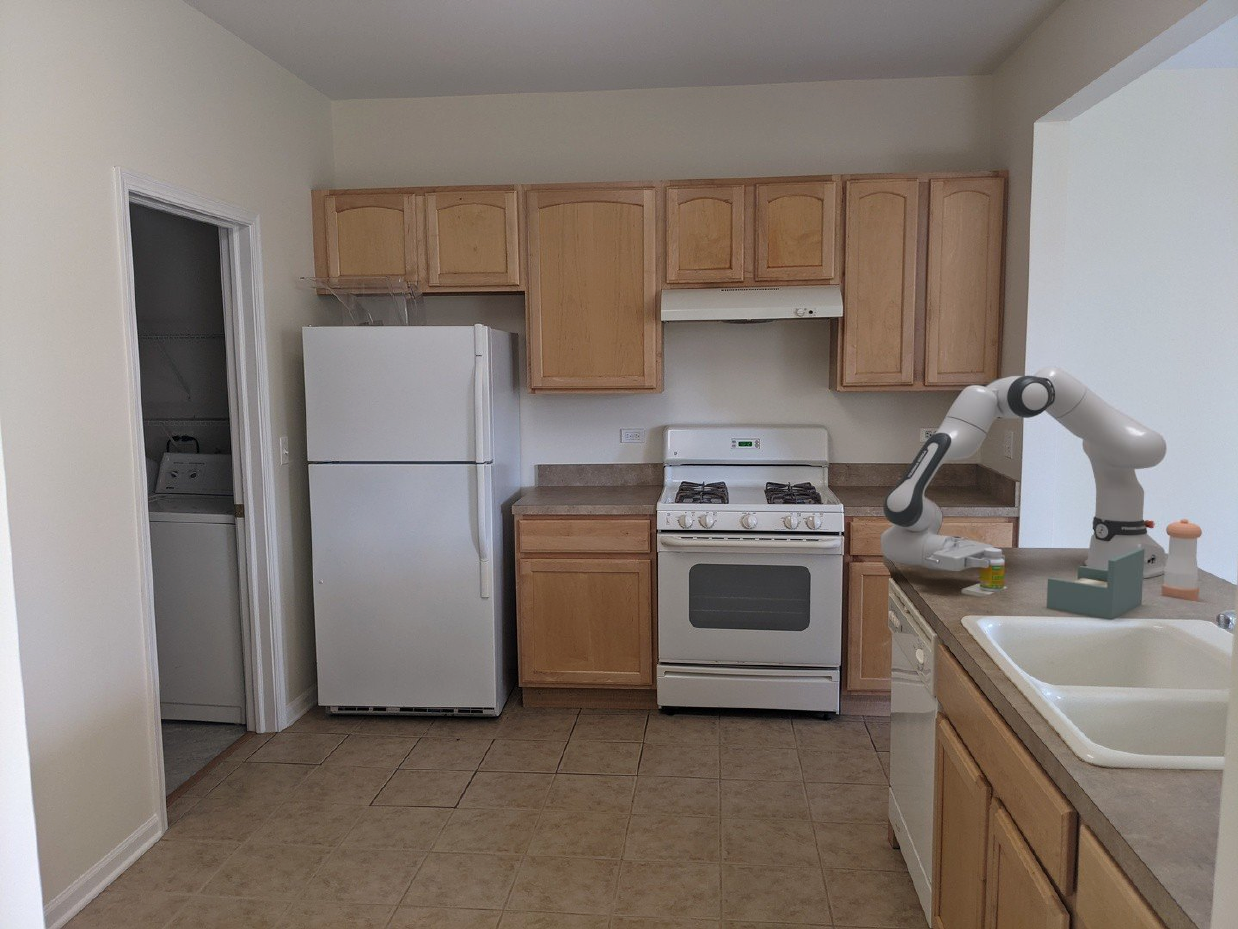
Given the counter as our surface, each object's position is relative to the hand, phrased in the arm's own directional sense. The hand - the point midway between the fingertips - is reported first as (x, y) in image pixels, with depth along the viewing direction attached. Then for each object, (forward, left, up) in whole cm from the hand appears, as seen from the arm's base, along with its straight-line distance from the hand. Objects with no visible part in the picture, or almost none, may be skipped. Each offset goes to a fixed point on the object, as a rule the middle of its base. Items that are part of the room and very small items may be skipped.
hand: (996, 561), depth 212 cm
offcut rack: (-8, +20, -8) cm, 23 cm away
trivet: (0, -1, -8) cm, 8 cm away
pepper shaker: (-35, +20, -8) cm, 41 cm away
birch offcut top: (-8, +20, -3) cm, 22 cm away
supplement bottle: (0, -1, -7) cm, 7 cm away
